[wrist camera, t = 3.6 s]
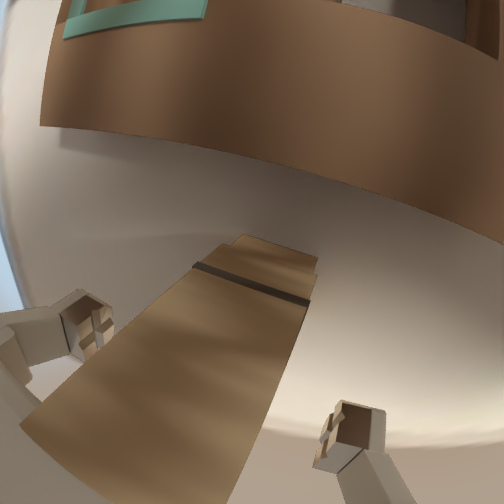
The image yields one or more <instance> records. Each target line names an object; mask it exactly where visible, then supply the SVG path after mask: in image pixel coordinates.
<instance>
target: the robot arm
mask: <svg viewBox="0 0 504 504" xmlns="http://www.w3.org/2000/svg"><path fill="white" fill-rule="evenodd" d="M112 315H113V312H112V307H111V306H109V305H108V304H106V303H104V302H103V301H101V300H99V299H98V298H96V297H94V296H93V295H91V294H89V293H88V292H86V291H84V290H83V289H77V290H75V291H74V292H72V293H71V294H69V295H68V296H66V297H65V298H63V299H62V300H60V301H59V302H57V303H56V304H54V305H53V306H51V307H50V308H49V307H48V306H45V307H38V308H31V309H25V310H18V311H12V312H4V313H0V504H113V503H112V502H110V501H109V500H107V499H106V498H104V497H103V496H101V495H100V494H98V493H97V492H95V491H94V490H92V489H91V488H90V487H88V486H87V485H85V484H84V483H83V482H81V481H80V480H79V479H78V478H76V477H75V476H74V475H72V474H71V473H70V472H69V471H67V470H66V469H65V468H64V467H62V466H61V465H60V464H59V463H58V462H56V461H55V460H54V459H53V458H52V457H51V456H50V455H48V454H47V453H46V452H45V451H44V450H43V449H42V448H41V447H40V446H39V445H38V444H37V443H35V442H34V441H33V440H32V439H31V438H30V437H29V436H28V435H27V434H26V433H25V432H24V431H23V430H22V428H21V427H20V426H19V424H20V423H21V422H22V421H23V420H24V419H25V418H26V417H27V416H28V415H29V414H30V413H31V412H32V411H33V410H35V409H36V408H37V407H38V406H39V405H40V404H41V403H42V402H41V401H40V400H39V399H38V398H37V397H35V396H34V395H33V393H31V392H30V391H29V390H28V389H27V388H26V387H25V385H26V384H28V383H29V382H30V381H31V380H32V374H31V372H30V369H29V367H30V366H34V365H37V364H40V363H43V362H47V361H50V360H53V359H56V358H59V357H62V356H65V355H69V354H70V353H71V354H72V355H74V356H75V357H77V358H78V359H80V360H81V361H83V362H84V363H85V362H86V361H88V360H89V359H90V358H91V357H92V356H93V355H94V354H95V353H96V352H98V348H100V347H103V346H104V345H105V344H106V343H108V342H109V341H110V340H111V339H112V337H113V335H114V323H113V322H112V320H111V318H110V317H111V316H112ZM385 438H386V412H385V411H384V410H380V409H376V408H372V407H368V406H364V405H360V404H356V403H352V402H348V401H345V400H340V401H339V402H338V403H337V405H336V406H335V411H334V413H332V414H330V415H329V417H328V418H327V420H326V422H325V424H324V426H323V428H322V431H321V435H320V439H319V440H320V442H321V444H322V445H321V446H320V447H319V448H318V450H317V451H316V455H315V459H314V463H313V468H315V469H319V470H323V471H327V472H330V473H334V474H337V479H338V482H339V485H340V487H341V491H342V493H343V496H344V500H345V503H346V504H417V503H416V501H415V500H414V498H413V496H412V495H411V493H410V491H409V489H408V487H407V485H406V484H405V482H404V480H403V478H402V477H401V475H400V473H399V471H398V470H397V468H396V466H395V464H394V463H393V461H392V459H391V457H390V455H389V454H386V453H385Z"/></svg>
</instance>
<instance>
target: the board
mask: <svg viewBox="0 0 504 504" xmlns="http://www.w3.org/2000/svg"><path fill="white" fill-rule="evenodd" d="M341 1H342V0H62V3H61V7H60V10H59V14H58V17H57V21H56V25H55V29H54V33H53V37H52V42H51V46H50V51H49V56H48V61H47V67H46V73H45V80H44V87H43V95H42V104H41V115H40V126H49V127H63V128H75V129H86V130H95V131H104V132H113V133H121V134H128V135H135V136H142V137H149V138H155V139H161V140H167V141H173V142H179V143H184V144H190V145H195V146H200V147H205V148H210V149H215V150H220V151H225V152H229V153H234V154H238V155H243V156H247V157H251V158H255V159H260V160H264V161H268V162H272V163H276V164H280V165H283V166H287V167H291V168H295V169H298V170H302V171H306V172H309V173H313V174H316V175H320V176H323V177H327V178H330V179H333V180H337V181H340V182H343V183H346V184H349V185H353V186H356V187H359V188H362V189H365V190H368V191H371V192H374V193H377V194H380V195H383V196H386V197H389V198H391V199H394V200H397V201H400V202H403V203H405V204H408V205H411V206H413V207H416V208H419V209H421V210H424V211H427V212H429V213H432V214H434V215H437V216H439V217H442V218H444V219H447V220H449V221H451V222H454V223H456V224H459V225H461V226H463V227H466V228H468V229H470V230H473V231H475V232H477V233H479V234H482V235H484V236H486V237H488V238H490V239H492V240H495V241H497V242H499V243H501V244H503V245H504V0H466V22H465V37H464V43H463V42H460V41H458V40H456V39H454V38H451V37H449V36H447V35H444V34H442V33H439V32H437V31H434V30H432V29H429V28H427V27H424V26H421V25H418V24H416V23H413V22H410V21H407V20H404V19H400V18H397V17H394V16H391V15H387V14H384V13H380V12H376V11H372V10H368V9H364V8H360V7H356V6H351V5H346V4H341Z"/></svg>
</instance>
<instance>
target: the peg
mask: <svg viewBox="0 0 504 504" xmlns="http://www.w3.org/2000/svg"><path fill="white" fill-rule="evenodd" d="M317 259H318V258H316V257H313V256H310V255H307V254H304V253H301V252H298V251H295V250H291V249H288V248H285V247H282V246H279V245H276V244H273V243H270V242H267V241H263V240H260V239H257V238H254V237H251V236H248V235H244V234H243V235H242V236H240V237H239V238H238V239H237V240H236V241H235V242H234V243H233V244H232V245H230V246H228V245H225V244H221V245H220V246H219V247H218V248H216V249H215V250H214V251H213V252H212V253H210V254H209V255H208V256H207V257H206V258H205V259H203V260H202V261H201V262H197V263H195V264H194V265H193V267H192V270H190V271H189V272H188V273H187V274H186V275H184V276H183V277H182V278H181V279H180V280H179V281H177V282H176V283H175V284H174V285H173V286H172V287H170V288H169V289H168V290H167V291H166V292H165V293H163V294H162V295H161V296H160V297H159V298H158V299H157V300H155V301H154V302H153V303H152V304H151V305H150V306H148V307H147V308H146V309H145V310H144V311H143V312H142V313H140V314H139V315H138V316H137V317H136V318H135V319H134V320H132V321H131V322H130V323H129V324H128V325H127V326H126V327H124V328H123V329H122V330H121V331H120V332H119V333H118V334H117V335H115V336H114V337H113V338H112V339H111V340H110V341H109V342H108V343H106V344H105V345H104V346H103V347H102V348H101V349H100V350H99V351H98V352H96V353H95V354H94V355H93V356H92V357H91V358H90V359H89V360H88V361H86V362H85V363H84V364H83V365H82V366H81V367H80V368H79V369H78V370H77V371H76V372H74V373H73V374H72V375H71V376H70V377H69V378H68V379H67V380H66V381H65V382H63V383H62V384H61V385H60V386H59V387H58V388H57V389H56V390H55V391H54V392H53V393H52V394H51V395H50V396H48V397H47V398H46V399H45V400H44V401H43V402H42V403H41V404H40V405H39V406H38V407H37V408H36V409H35V410H33V411H32V412H31V413H30V414H29V415H28V416H27V417H26V418H25V419H24V420H23V421H22V422H21V423H20V424H19V426H20V427H21V428H22V430H23V431H24V432H25V433H26V434H27V435H28V436H29V437H30V438H31V439H32V440H33V441H34V442H35V443H37V444H38V445H39V446H40V447H41V448H42V449H43V450H44V451H45V452H46V453H47V454H48V455H50V456H51V457H52V458H53V459H54V460H55V461H56V462H58V463H59V464H60V465H61V466H62V467H64V468H65V469H66V470H67V471H69V472H70V473H71V474H72V475H74V476H75V477H76V478H78V479H79V480H80V481H81V482H83V483H84V484H85V485H87V486H88V487H90V488H91V489H92V490H94V491H95V492H97V493H98V494H100V495H101V496H103V497H104V498H106V499H107V500H109V501H110V502H112V503H113V504H226V503H227V501H228V499H229V497H230V495H231V493H232V491H233V489H234V487H235V484H236V482H237V480H238V478H239V476H240V474H241V472H242V470H243V467H244V465H245V463H246V461H247V459H248V456H249V454H250V452H251V450H252V447H253V445H254V443H255V441H256V438H257V436H258V434H259V431H260V429H261V427H262V424H263V422H264V419H265V417H266V415H267V412H268V410H269V407H270V405H271V402H272V400H273V397H274V395H275V392H276V390H277V387H278V385H279V382H280V380H281V377H282V375H283V372H284V370H285V367H286V365H287V362H288V360H289V357H290V355H291V352H292V350H293V347H294V345H295V342H296V339H297V337H298V334H299V331H300V329H301V326H302V323H303V321H304V318H305V315H306V312H307V310H308V307H309V304H310V301H311V300H309V299H310V296H311V293H312V290H313V287H314V283H315V280H316V277H317V275H316V274H313V271H314V268H315V265H316V262H317Z"/></svg>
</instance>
